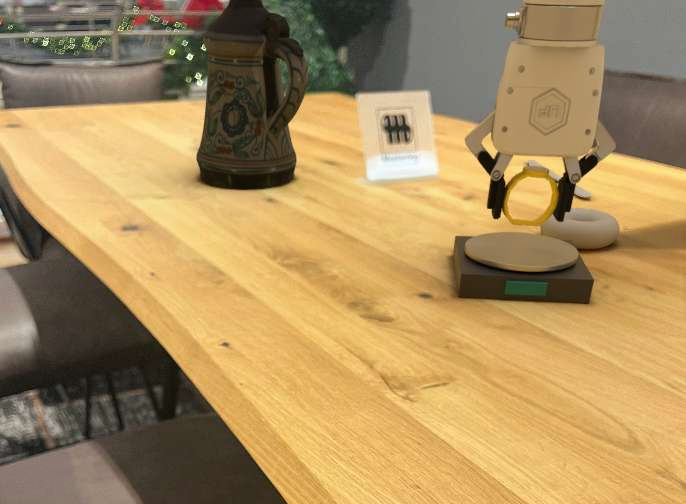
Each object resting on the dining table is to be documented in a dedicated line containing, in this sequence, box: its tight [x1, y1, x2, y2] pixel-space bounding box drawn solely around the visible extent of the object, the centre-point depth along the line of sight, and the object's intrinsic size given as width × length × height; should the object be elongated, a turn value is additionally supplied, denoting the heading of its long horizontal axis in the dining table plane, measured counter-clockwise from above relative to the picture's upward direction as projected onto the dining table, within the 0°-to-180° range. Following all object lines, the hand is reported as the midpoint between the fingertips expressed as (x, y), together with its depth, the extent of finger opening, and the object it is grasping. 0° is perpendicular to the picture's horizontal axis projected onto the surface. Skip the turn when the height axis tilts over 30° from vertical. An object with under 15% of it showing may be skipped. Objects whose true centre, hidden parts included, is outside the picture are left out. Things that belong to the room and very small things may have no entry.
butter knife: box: [527, 159, 593, 199], centre depth 129 cm, size 1×27×3 cm
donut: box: [539, 207, 621, 250], centre depth 100 cm, size 10×4×10 cm
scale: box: [452, 235, 595, 304], centre depth 87 cm, size 14×14×3 cm
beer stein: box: [195, 0, 309, 190], centre depth 120 cm, size 16×19×25 cm
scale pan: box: [465, 231, 580, 272], centre depth 87 cm, size 13×13×1 cm
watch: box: [501, 165, 559, 227], centre depth 83 cm, size 6×3×6 cm, turn 94°
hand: (526, 215), depth 84 cm, fingers closed on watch, 6 cm apart
